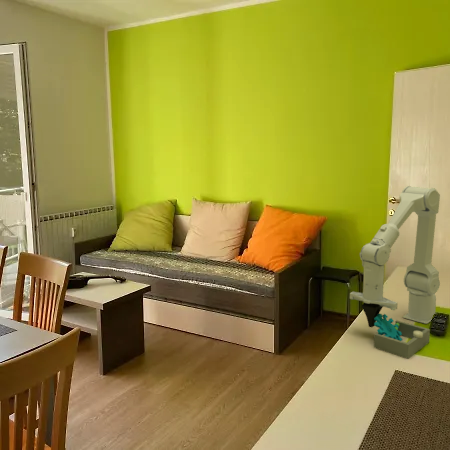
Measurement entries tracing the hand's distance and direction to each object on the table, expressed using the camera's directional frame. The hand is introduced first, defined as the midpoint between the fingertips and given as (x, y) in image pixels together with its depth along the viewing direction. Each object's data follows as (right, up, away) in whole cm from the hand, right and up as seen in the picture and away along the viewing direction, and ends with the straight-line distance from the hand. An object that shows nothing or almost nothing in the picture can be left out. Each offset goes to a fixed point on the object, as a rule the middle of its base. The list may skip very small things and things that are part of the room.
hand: (371, 326), depth 138 cm
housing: (+7, -4, -6) cm, 10 cm away
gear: (+4, -4, -3) cm, 6 cm away
